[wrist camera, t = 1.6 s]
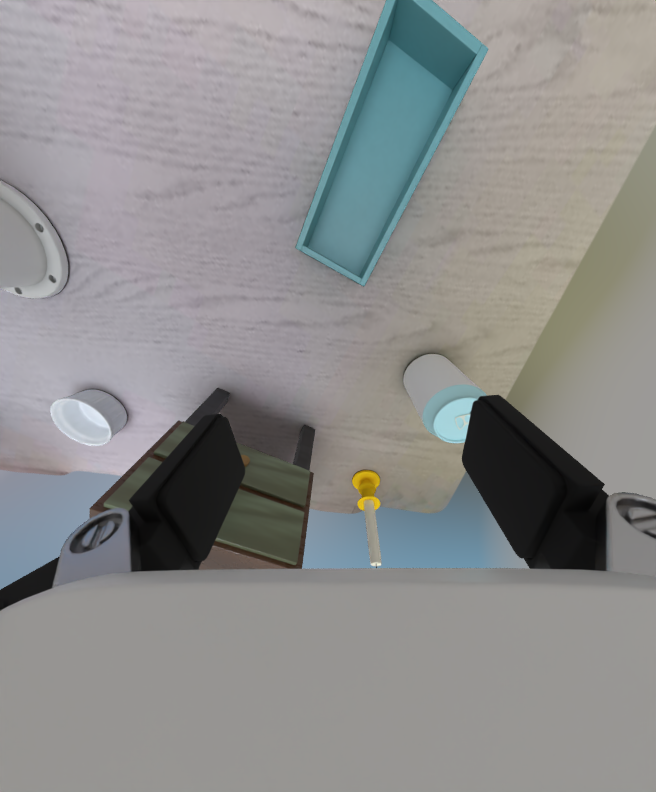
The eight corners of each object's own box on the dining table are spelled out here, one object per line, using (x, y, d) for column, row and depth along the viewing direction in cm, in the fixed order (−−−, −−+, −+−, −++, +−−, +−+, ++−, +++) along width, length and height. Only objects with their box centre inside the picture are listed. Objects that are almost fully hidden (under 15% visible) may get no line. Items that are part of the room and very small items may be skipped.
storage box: (385, 30, 21) (397, -31, 17) (459, 89, 22) (489, 48, 18) (301, 249, 29) (295, 248, 25) (360, 283, 30) (364, 286, 26)
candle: (380, 488, 48) (396, 578, 34) (353, 489, 48) (358, 579, 35) (379, 468, 45) (396, 557, 32) (351, 470, 46) (356, 559, 32)
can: (419, 344, 34) (455, 381, 23) (462, 364, 35) (514, 408, 24) (393, 385, 37) (414, 435, 27) (432, 402, 38) (468, 456, 28)
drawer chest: (216, 378, 38) (89, 500, 19) (321, 423, 41) (306, 567, 22) (194, 452, 45) (88, 593, 26) (284, 485, 49) (248, 632, 29)
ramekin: (79, 420, 43) (53, 436, 39) (73, 377, 39) (44, 390, 35) (131, 436, 44) (112, 453, 40) (131, 396, 40) (109, 411, 36)
